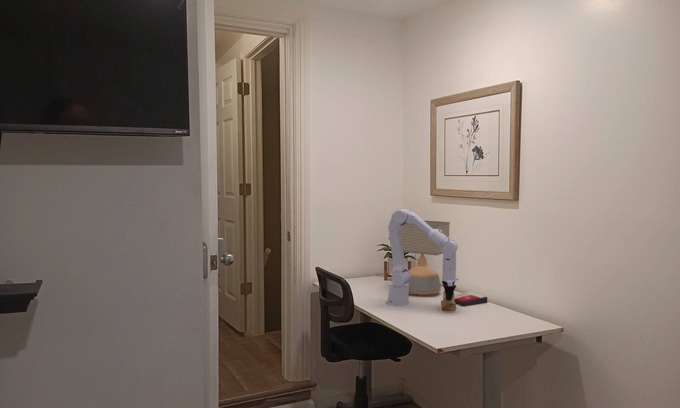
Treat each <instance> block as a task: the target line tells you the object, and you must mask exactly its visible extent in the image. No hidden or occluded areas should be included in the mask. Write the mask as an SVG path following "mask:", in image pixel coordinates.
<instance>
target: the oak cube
mask: <svg viewBox="0 0 680 408" xmlns="http://www.w3.org/2000/svg"><path fill="white" fill-rule="evenodd" d="M454 295H455V291H454V292H453V297H452V300H451V301H447V300H446V294H445V290H443V291H442V301H443V303H444V304H454Z"/></svg>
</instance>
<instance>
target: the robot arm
mask: <svg viewBox="0 0 680 408" xmlns="http://www.w3.org/2000/svg"><path fill="white" fill-rule="evenodd" d="M423 220H424V219H423V218H422V217H420V216H419V215H418V214H417V213H416V212H414V211H412V209H410V208H408V207H405V208H399V209H396V210H395V211H394V212H393V213H392V214H391V219H390V221H389V224H388V226H387V230H388V237H389V244H390V249H391V256H392V264H393V265H392V266H393V267H392V269H391V278H390V280H391V282H392V284H388V294H387V295H388V296H387V306H398V307H399V306H400V307H402V306H407V305H409V300H410V299H409V295H410V294H409V284H408V281H409V280H410V278H411V275H410V273H409V271H408V270H409V268H408V265H407V264H406V261H405V254H404V253H405V252H403V246H402V240H401V233H400V229H401V228H402V227H403V226H404V224H406V223H407V224H414V225H416V226H417V227H419V228H420V229H421V230H423V231H424V232H425V233H427V234H428V236H429V239H430V240H431V241H432V242H433V243H435V244H436V245H437V246H438V247H439V248H441V250H442V252H443V253H442V272H441V273H442V277H441V283H442V287H443V289H444V290H443V291H445V294H446V300H447V301H451V300H452V297H453V292H454V293H455V289H456V288H457V285H456V284H455V283H456V282H457V281H459V278H458V277H457V250H458V247H459V246H458V243H457V242H456V240H455V239H452V238H451V237H450V236H449V237H447V236H445V235H444V234H443V233H442V231H441V230H438V229H432V228H431V227H430V226H429V225H428V224H427V223H426V222H424V221H423Z"/></svg>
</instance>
